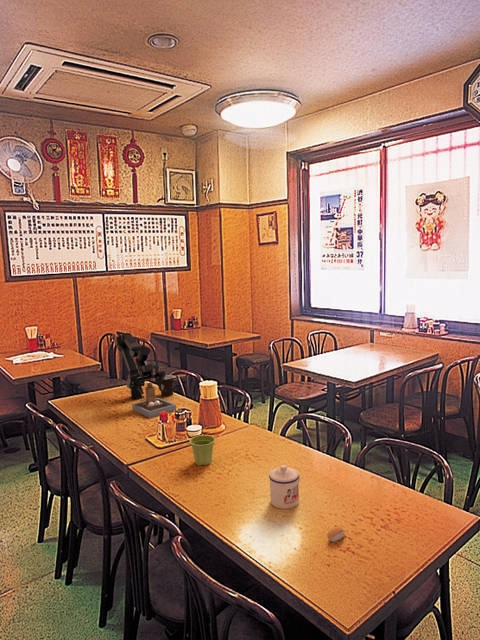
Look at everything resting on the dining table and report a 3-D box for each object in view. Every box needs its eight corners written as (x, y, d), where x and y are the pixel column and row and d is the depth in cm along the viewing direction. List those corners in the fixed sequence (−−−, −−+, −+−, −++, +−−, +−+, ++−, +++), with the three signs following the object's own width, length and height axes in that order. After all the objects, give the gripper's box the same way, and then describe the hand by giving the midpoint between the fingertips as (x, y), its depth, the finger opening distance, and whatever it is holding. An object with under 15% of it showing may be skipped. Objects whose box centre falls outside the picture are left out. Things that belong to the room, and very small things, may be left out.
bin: (132, 410, 243) (132, 404, 243) (158, 403, 253) (157, 397, 252) (149, 418, 230) (149, 412, 230) (176, 410, 240) (175, 404, 239)
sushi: (324, 541, 128) (324, 530, 128) (339, 531, 132) (339, 521, 132) (332, 545, 126) (332, 534, 126) (347, 535, 130) (347, 525, 130)
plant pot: (221, 461, 180) (220, 438, 178) (202, 470, 173) (201, 447, 172) (204, 454, 186) (203, 433, 185) (185, 463, 179) (184, 440, 178)
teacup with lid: (287, 513, 142) (286, 475, 141) (263, 503, 149) (262, 467, 147) (311, 496, 151) (310, 461, 149) (287, 488, 157) (286, 454, 156)
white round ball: (152, 406, 241) (153, 401, 240) (155, 404, 243) (156, 398, 242) (157, 408, 240) (158, 403, 239) (160, 406, 243) (161, 401, 242)
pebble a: (147, 408, 240) (146, 403, 238) (150, 404, 242) (149, 400, 241) (152, 409, 239) (152, 404, 237) (155, 406, 241) (155, 401, 240)
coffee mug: (157, 394, 269) (156, 376, 268) (172, 391, 273) (171, 374, 271) (163, 399, 259) (162, 381, 257) (179, 396, 262) (177, 378, 261)
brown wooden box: (142, 407, 244) (141, 383, 243) (157, 404, 248) (155, 381, 246) (149, 412, 237) (147, 387, 235) (163, 409, 240) (162, 385, 239)
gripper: (127, 360, 239) (136, 387, 231) (163, 354, 248) (173, 380, 240) (124, 372, 247) (132, 399, 239) (158, 367, 256) (168, 392, 248)
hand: (152, 392), depth 241 cm, fingers open, 9 cm apart
